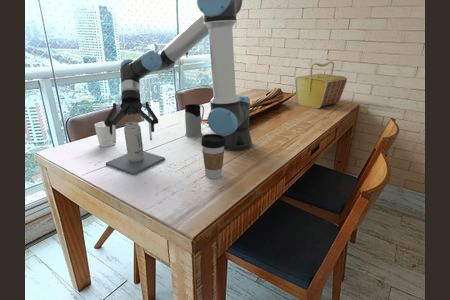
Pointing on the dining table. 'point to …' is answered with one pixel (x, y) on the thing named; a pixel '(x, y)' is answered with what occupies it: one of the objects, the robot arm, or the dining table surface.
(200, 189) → the dining table surface
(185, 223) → the dining table surface
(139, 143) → the energy drink can
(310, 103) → the picnic basket
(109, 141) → the white cup
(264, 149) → the dining table surface
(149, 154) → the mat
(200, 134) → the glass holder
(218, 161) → the coffee cup
